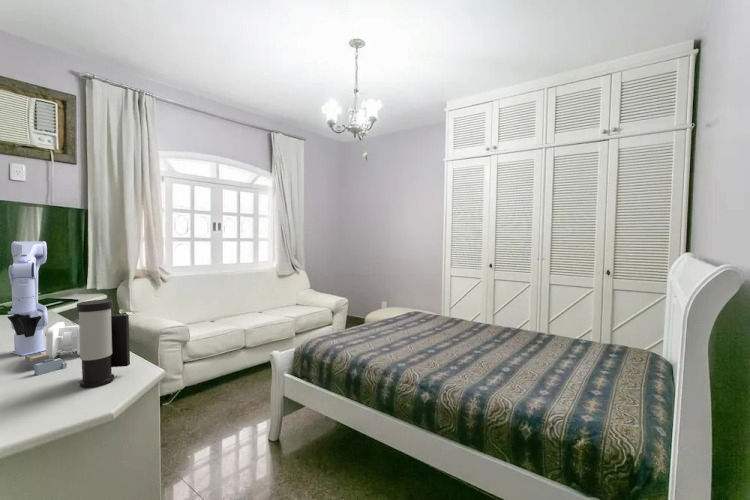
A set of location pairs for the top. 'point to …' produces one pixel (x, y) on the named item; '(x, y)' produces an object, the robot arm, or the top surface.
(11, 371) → the top surface
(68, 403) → the top surface
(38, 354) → the module
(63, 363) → the rail
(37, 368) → the end clamp
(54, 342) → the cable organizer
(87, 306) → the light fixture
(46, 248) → the robot arm
